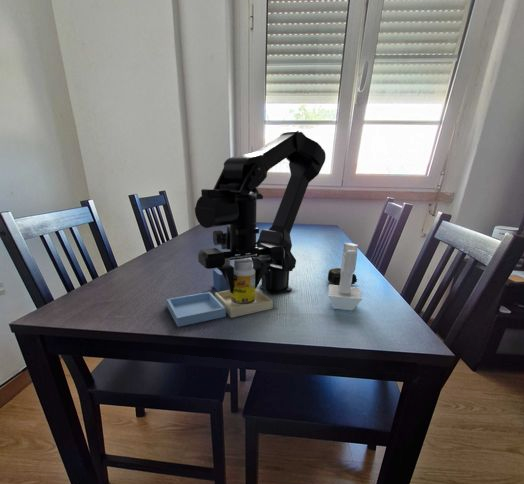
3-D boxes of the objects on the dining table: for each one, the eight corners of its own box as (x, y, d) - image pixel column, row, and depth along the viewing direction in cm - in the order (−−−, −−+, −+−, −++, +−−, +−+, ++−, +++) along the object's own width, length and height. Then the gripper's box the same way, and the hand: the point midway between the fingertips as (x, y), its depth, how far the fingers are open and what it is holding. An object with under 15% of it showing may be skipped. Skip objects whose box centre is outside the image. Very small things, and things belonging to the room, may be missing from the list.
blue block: (230, 284, 78) (230, 267, 77) (237, 290, 74) (237, 272, 73) (213, 286, 76) (212, 269, 74) (220, 293, 72) (219, 275, 70)
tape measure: (333, 288, 77) (334, 275, 76) (323, 279, 83) (324, 267, 82) (356, 287, 78) (358, 274, 77) (344, 278, 85) (346, 267, 83)
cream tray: (252, 293, 73) (252, 285, 72) (272, 308, 64) (272, 300, 64) (214, 300, 68) (214, 292, 67) (231, 317, 60) (231, 309, 59)
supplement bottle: (226, 303, 65) (225, 261, 61) (239, 295, 70) (239, 255, 66) (246, 309, 63) (246, 265, 59) (259, 300, 67) (260, 259, 64)
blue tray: (210, 299, 69) (210, 291, 68) (225, 316, 60) (225, 308, 60) (167, 307, 64) (166, 299, 63) (177, 327, 56) (176, 318, 55)
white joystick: (356, 299, 70) (365, 240, 65) (360, 316, 62) (371, 249, 56) (327, 296, 72) (333, 238, 66) (326, 312, 63) (334, 247, 58)
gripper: (263, 215, 70) (261, 274, 76) (188, 219, 62) (193, 285, 68) (287, 222, 61) (284, 288, 67) (204, 227, 53) (208, 302, 58)
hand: (243, 290), depth 65 cm, fingers closed on supplement bottle, 5 cm apart
